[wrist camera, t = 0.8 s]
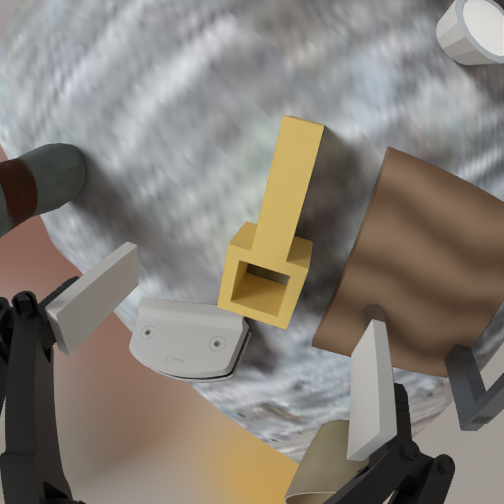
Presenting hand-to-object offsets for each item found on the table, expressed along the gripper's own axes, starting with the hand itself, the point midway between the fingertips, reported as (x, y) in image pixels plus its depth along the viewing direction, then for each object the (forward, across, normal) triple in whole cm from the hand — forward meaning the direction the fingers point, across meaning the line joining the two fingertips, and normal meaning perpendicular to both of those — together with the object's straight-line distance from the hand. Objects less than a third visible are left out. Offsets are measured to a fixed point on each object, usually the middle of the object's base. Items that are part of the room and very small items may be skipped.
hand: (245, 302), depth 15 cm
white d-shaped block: (+17, -8, -21) cm, 28 cm away
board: (+17, +19, -4) cm, 26 cm away
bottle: (+17, -31, -2) cm, 36 cm away
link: (+17, 0, -1) cm, 17 cm away
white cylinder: (+17, +13, +23) cm, 32 cm away
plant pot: (+17, +20, -37) cm, 45 cm away
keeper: (+17, +28, -8) cm, 34 cm away
